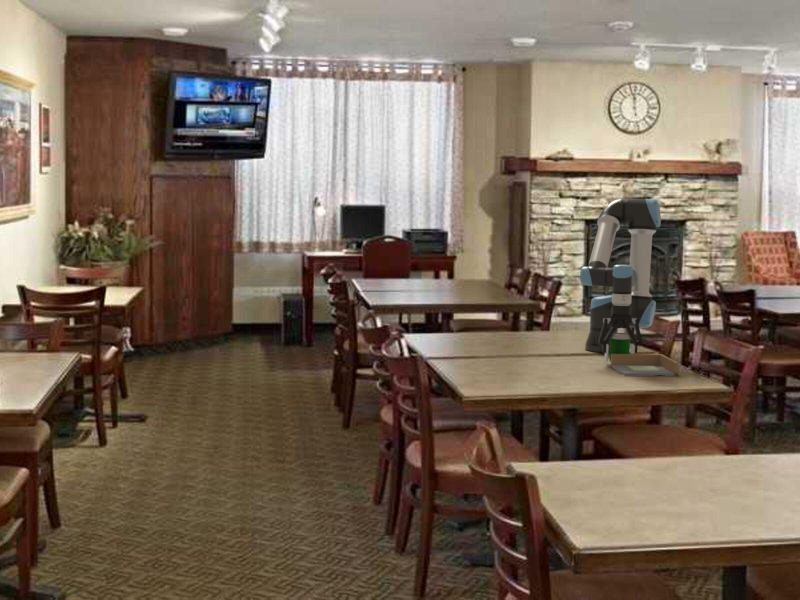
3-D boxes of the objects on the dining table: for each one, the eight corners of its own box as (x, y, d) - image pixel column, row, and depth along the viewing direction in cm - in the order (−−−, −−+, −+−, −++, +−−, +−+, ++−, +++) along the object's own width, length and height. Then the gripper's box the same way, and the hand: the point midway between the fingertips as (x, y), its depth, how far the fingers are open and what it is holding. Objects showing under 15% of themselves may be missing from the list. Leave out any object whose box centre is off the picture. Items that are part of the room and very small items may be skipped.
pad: (627, 366, 405) (627, 365, 405) (652, 366, 405) (652, 365, 405) (634, 370, 395) (634, 370, 395) (660, 370, 395) (660, 370, 395)
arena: (610, 366, 409) (611, 353, 409) (661, 366, 411) (662, 354, 410) (624, 375, 390) (625, 362, 389) (678, 375, 391) (678, 362, 390)
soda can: (629, 366, 411) (630, 335, 410) (609, 365, 413) (610, 334, 412) (628, 363, 419) (630, 333, 417) (609, 362, 420) (610, 332, 419)
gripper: (595, 305, 409) (593, 362, 411) (652, 305, 410) (650, 362, 413) (590, 303, 416) (588, 359, 419) (646, 303, 418) (644, 359, 420)
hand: (619, 361), depth 416 cm, fingers open, 10 cm apart
